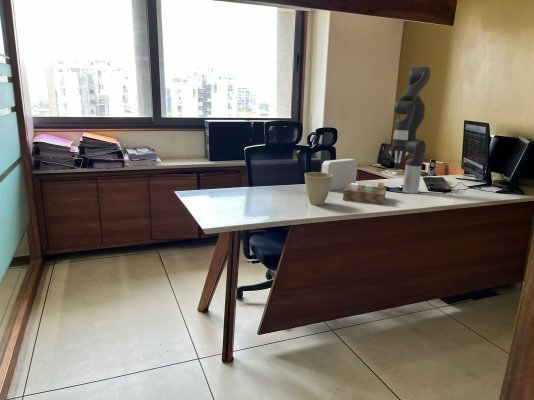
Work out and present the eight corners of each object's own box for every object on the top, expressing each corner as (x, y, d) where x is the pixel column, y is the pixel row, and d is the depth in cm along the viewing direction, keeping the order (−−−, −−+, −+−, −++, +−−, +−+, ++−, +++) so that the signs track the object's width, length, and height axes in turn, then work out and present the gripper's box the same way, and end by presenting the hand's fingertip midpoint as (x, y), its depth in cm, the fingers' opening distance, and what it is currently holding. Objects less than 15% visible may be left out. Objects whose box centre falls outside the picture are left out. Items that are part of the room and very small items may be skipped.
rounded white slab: (346, 184, 257) (348, 157, 253) (355, 186, 252) (357, 159, 247) (317, 188, 240) (319, 160, 235) (326, 191, 234) (328, 162, 229)
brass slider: (383, 188, 218) (384, 182, 218) (383, 189, 216) (383, 183, 215) (377, 187, 219) (378, 181, 219) (377, 188, 217) (378, 182, 216)
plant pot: (324, 199, 213) (326, 171, 209) (334, 206, 199) (337, 177, 195) (299, 200, 209) (301, 171, 205) (307, 207, 195) (309, 177, 191)
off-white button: (357, 192, 216) (358, 183, 215) (356, 193, 212) (357, 184, 211) (350, 191, 217) (351, 182, 216) (349, 192, 214) (350, 184, 212)
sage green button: (372, 193, 213) (372, 185, 212) (371, 195, 210) (372, 186, 209) (364, 192, 215) (365, 184, 213) (364, 194, 211) (364, 185, 210)
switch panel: (385, 197, 222) (386, 187, 221) (383, 205, 206) (384, 193, 204) (347, 193, 229) (348, 183, 228) (342, 200, 213) (343, 189, 211)
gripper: (413, 138, 209) (408, 169, 213) (388, 137, 213) (384, 167, 218) (413, 139, 202) (408, 171, 207) (387, 138, 207) (383, 169, 211)
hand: (396, 169), depth 212 cm, fingers closed
